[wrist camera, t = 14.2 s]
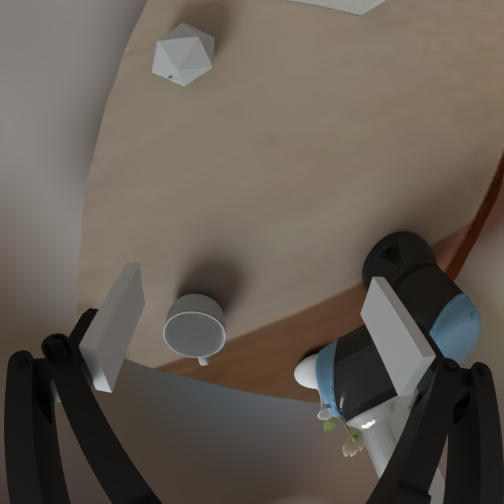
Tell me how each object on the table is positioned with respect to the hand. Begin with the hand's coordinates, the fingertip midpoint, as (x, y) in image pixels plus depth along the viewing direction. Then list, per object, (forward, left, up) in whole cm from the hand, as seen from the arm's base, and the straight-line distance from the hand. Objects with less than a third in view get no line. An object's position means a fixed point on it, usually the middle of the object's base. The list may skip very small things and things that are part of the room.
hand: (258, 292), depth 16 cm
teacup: (+7, +28, -32) cm, 43 cm away
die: (+10, -17, -32) cm, 38 cm away
